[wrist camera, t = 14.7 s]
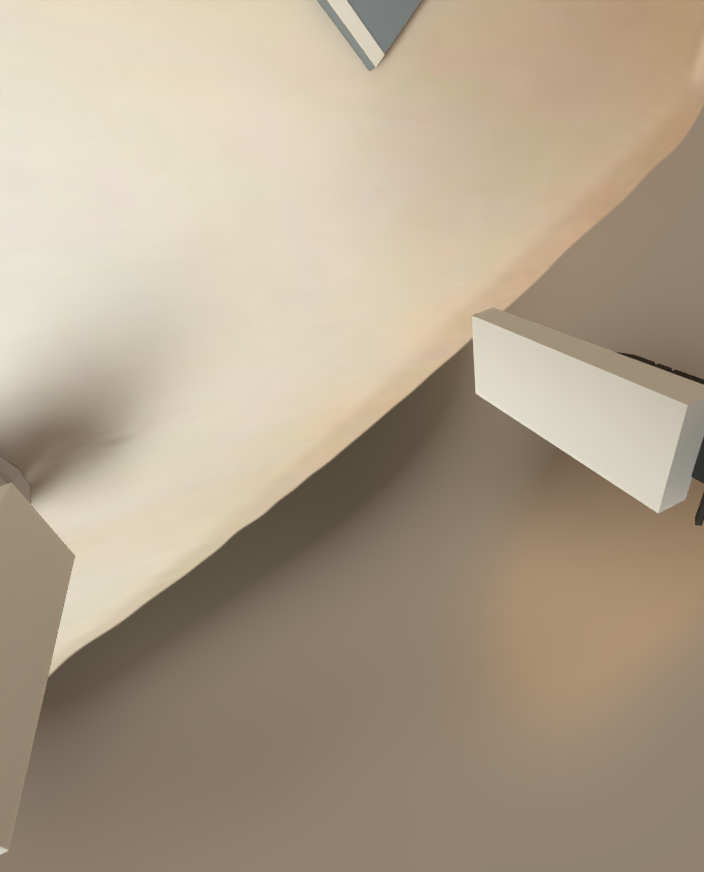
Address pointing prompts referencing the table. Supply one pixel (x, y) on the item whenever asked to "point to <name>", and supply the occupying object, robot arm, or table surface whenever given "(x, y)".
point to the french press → (14, 478)
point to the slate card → (370, 24)
